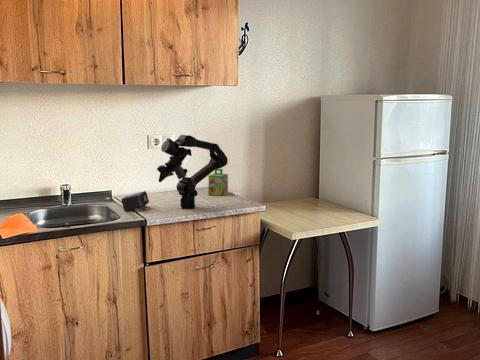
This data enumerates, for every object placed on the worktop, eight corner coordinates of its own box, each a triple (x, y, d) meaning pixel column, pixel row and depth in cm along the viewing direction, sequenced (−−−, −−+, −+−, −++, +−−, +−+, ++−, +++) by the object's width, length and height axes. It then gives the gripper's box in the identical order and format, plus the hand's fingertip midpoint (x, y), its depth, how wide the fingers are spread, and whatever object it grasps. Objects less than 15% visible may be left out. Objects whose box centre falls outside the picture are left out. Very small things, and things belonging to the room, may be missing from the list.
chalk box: (208, 195, 267) (207, 169, 264) (213, 192, 276) (213, 167, 273) (223, 196, 264) (223, 170, 262) (228, 193, 273) (228, 168, 270)
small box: (140, 194, 229) (120, 198, 230) (144, 206, 230) (124, 211, 231) (145, 190, 239) (126, 194, 240) (149, 202, 240) (129, 206, 241)
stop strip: (145, 206, 241) (145, 203, 241) (139, 211, 230) (139, 209, 229) (140, 206, 241) (140, 203, 241) (134, 211, 230) (134, 209, 229)
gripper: (183, 171, 221) (164, 195, 225) (195, 166, 239) (177, 189, 243) (166, 156, 221) (147, 180, 225) (179, 152, 239) (161, 175, 243)
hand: (159, 181), depth 234 cm, fingers closed
